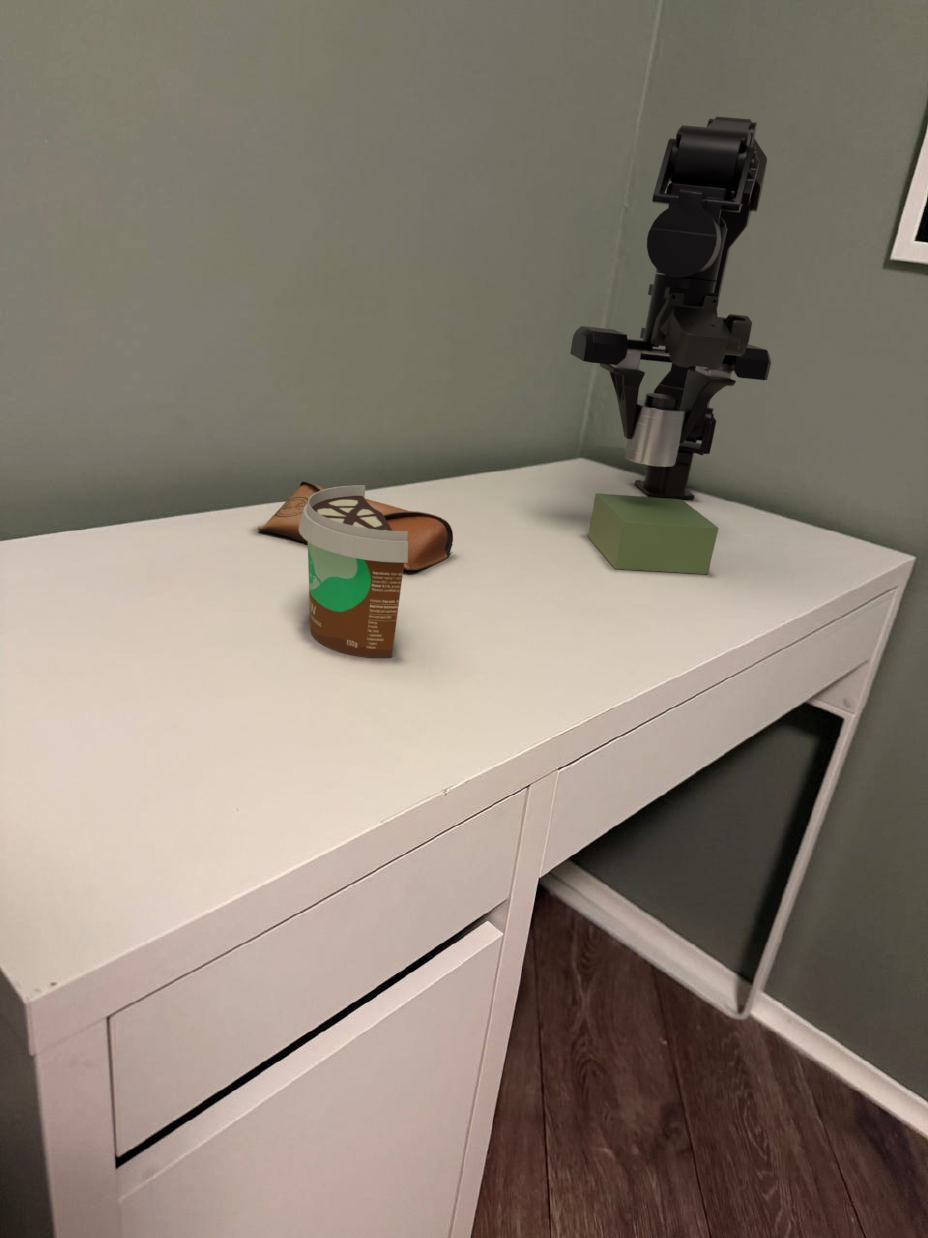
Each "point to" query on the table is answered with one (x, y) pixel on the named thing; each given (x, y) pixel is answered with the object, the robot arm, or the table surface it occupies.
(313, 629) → the food container
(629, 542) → the green block
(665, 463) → the flask
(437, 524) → the sunglasses case
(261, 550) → the table surface
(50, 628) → the table surface
